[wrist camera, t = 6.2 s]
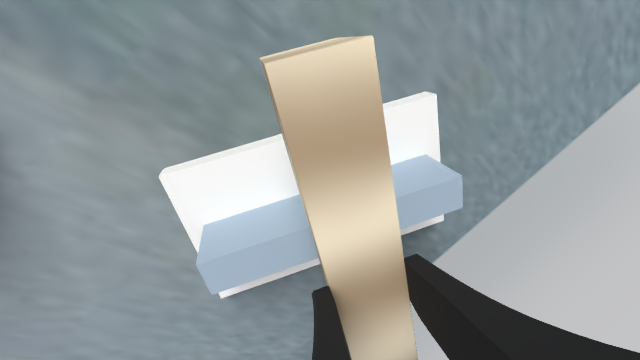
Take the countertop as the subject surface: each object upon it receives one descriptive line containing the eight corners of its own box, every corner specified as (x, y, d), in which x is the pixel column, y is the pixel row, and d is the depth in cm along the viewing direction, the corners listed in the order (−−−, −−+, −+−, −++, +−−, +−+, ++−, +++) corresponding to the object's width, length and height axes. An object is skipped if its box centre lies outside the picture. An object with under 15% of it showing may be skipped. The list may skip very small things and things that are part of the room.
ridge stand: (434, 212, 23) (478, 250, 19) (222, 285, 21) (217, 346, 17) (425, 91, 19) (479, 105, 15) (163, 168, 17) (138, 209, 13)
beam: (392, 341, 20) (424, 407, 16) (347, 357, 19) (370, 428, 16) (335, 37, 12) (372, 35, 8) (259, 57, 12) (264, 64, 8)
